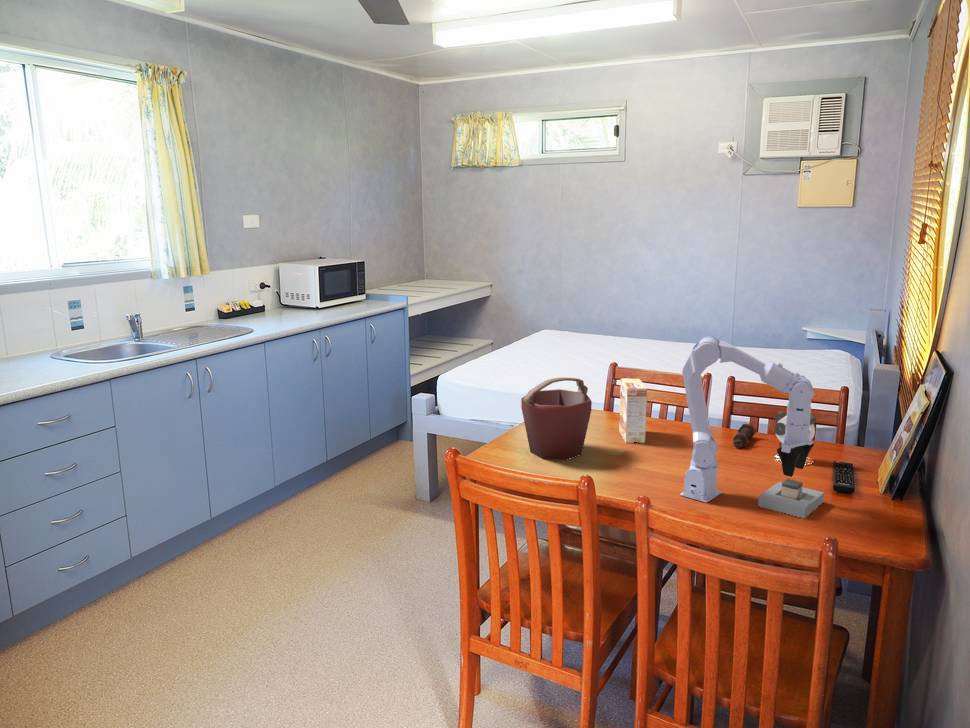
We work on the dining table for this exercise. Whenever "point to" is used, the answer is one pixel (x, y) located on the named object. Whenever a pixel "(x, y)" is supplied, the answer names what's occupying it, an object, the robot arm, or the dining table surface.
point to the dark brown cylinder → (743, 435)
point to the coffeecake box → (633, 410)
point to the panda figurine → (782, 425)
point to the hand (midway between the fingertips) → (793, 471)
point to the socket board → (791, 501)
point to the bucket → (556, 420)
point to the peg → (792, 489)
